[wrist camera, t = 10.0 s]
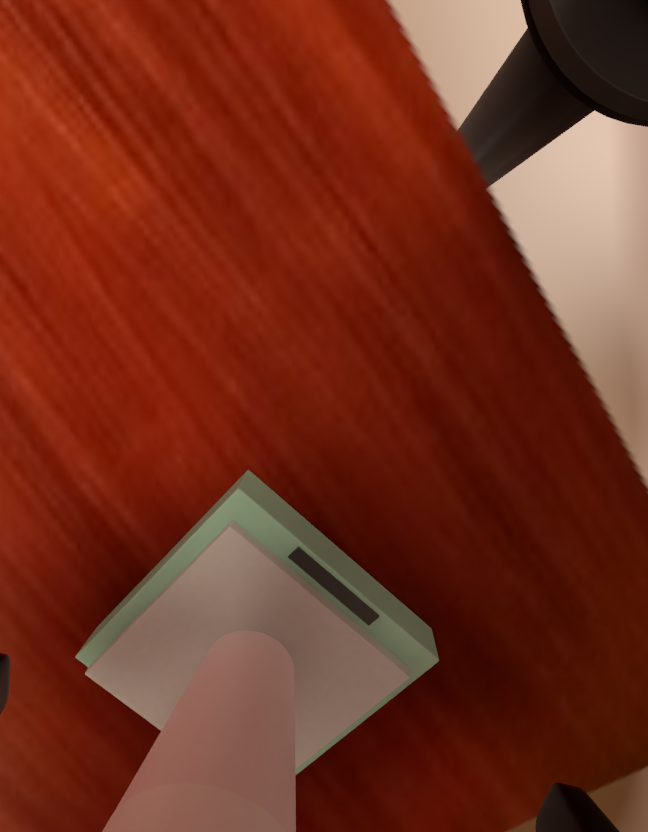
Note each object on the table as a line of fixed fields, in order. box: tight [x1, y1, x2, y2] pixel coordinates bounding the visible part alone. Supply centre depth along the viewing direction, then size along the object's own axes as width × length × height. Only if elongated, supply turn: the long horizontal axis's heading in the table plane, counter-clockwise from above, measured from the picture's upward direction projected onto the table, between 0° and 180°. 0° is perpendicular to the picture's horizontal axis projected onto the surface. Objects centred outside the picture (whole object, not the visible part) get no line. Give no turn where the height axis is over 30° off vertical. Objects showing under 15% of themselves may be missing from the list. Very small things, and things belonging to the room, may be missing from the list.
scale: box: [76, 470, 439, 775], centre depth 21 cm, size 11×11×3 cm
